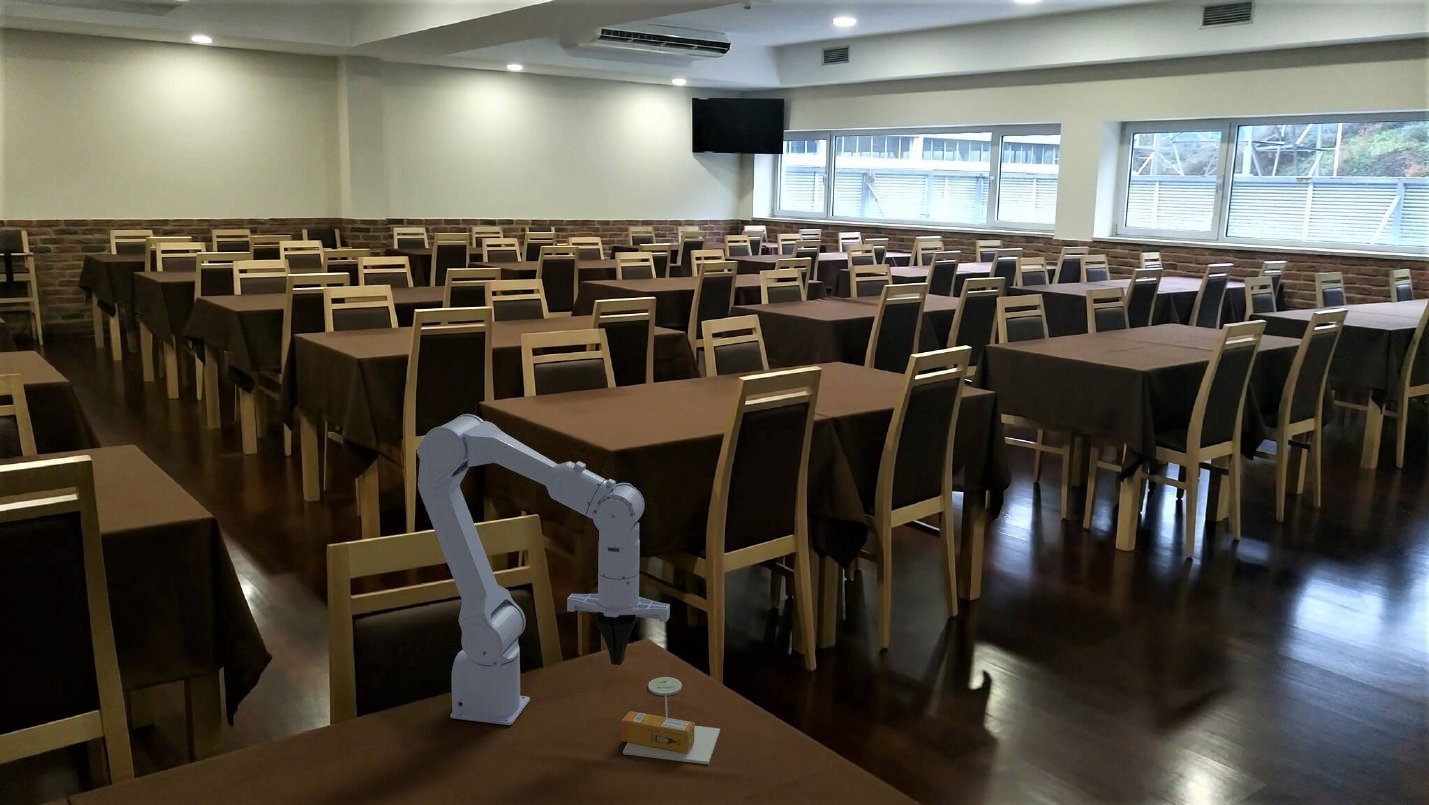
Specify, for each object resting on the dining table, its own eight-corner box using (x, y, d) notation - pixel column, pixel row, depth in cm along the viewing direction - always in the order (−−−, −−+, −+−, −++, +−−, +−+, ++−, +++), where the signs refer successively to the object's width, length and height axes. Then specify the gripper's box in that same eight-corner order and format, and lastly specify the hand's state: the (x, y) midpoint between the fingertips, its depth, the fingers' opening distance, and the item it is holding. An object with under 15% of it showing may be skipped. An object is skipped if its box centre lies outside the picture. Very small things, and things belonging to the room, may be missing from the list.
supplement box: (630, 730, 149) (695, 744, 146) (620, 741, 146) (687, 756, 143) (630, 708, 148) (696, 722, 145) (620, 719, 145) (687, 733, 142)
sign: (648, 727, 150) (648, 677, 165) (648, 732, 150) (648, 682, 165) (685, 726, 151) (681, 676, 165) (684, 731, 151) (681, 681, 165)
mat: (622, 754, 143) (622, 751, 143) (639, 721, 152) (639, 719, 152) (708, 764, 141) (708, 761, 141) (720, 731, 150) (720, 728, 150)
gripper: (559, 576, 143) (559, 668, 146) (662, 587, 141) (660, 680, 143) (576, 559, 150) (576, 647, 153) (674, 569, 147) (672, 658, 150)
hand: (617, 661), depth 149 cm, fingers closed
